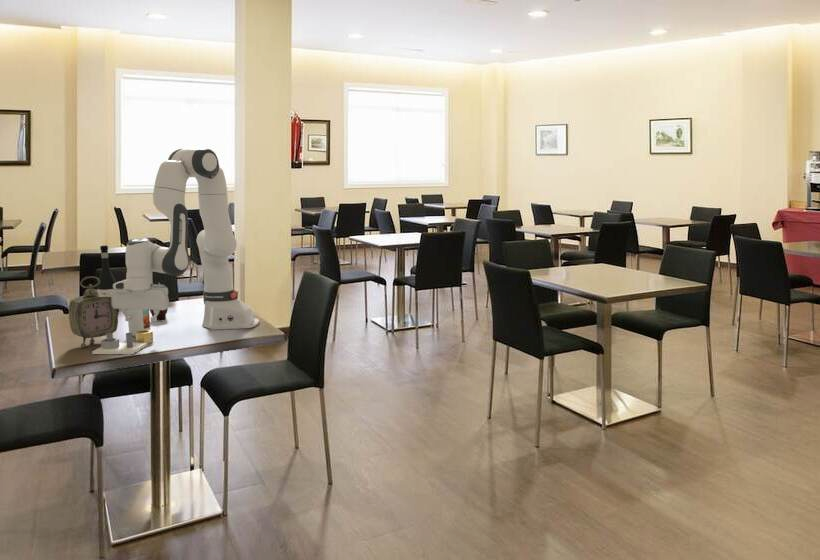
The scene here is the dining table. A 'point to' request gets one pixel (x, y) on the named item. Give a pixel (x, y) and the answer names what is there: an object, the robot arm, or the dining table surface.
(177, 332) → the dining table surface
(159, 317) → the mate gourd
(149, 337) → the brass gear
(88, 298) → the tabletop clock
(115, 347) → the gear board
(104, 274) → the wine bottle
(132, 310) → the milk bottle
